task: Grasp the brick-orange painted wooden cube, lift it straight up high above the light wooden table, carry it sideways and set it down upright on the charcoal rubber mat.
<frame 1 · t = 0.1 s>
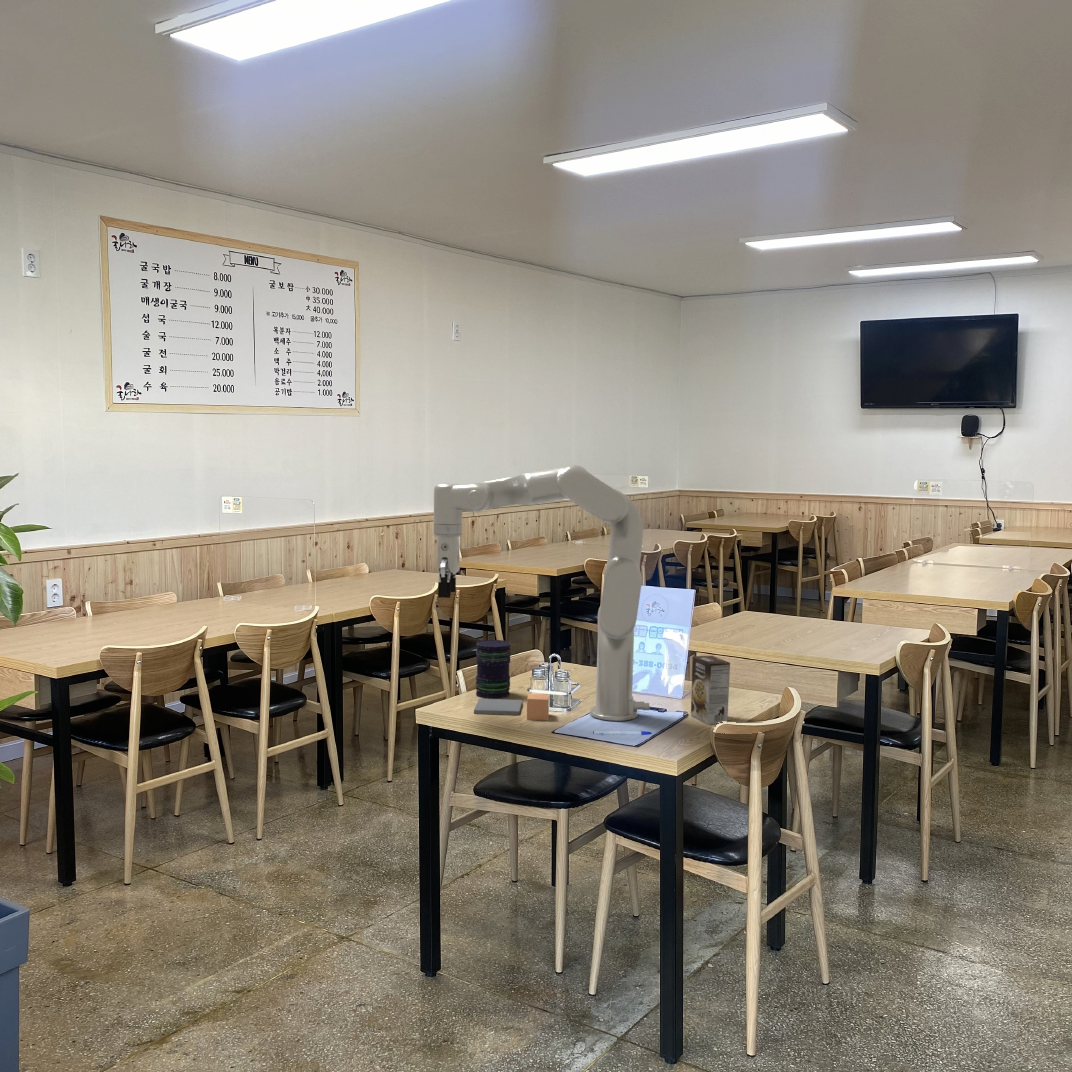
hand: (447, 594, 263), 31 cm above the table, fingers open, 9 cm apart
coaster mat: (498, 708, 268), on the table
storage jar: (492, 695, 283), on the table
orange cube: (537, 717, 261), on the table
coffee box: (708, 719, 262), on the table
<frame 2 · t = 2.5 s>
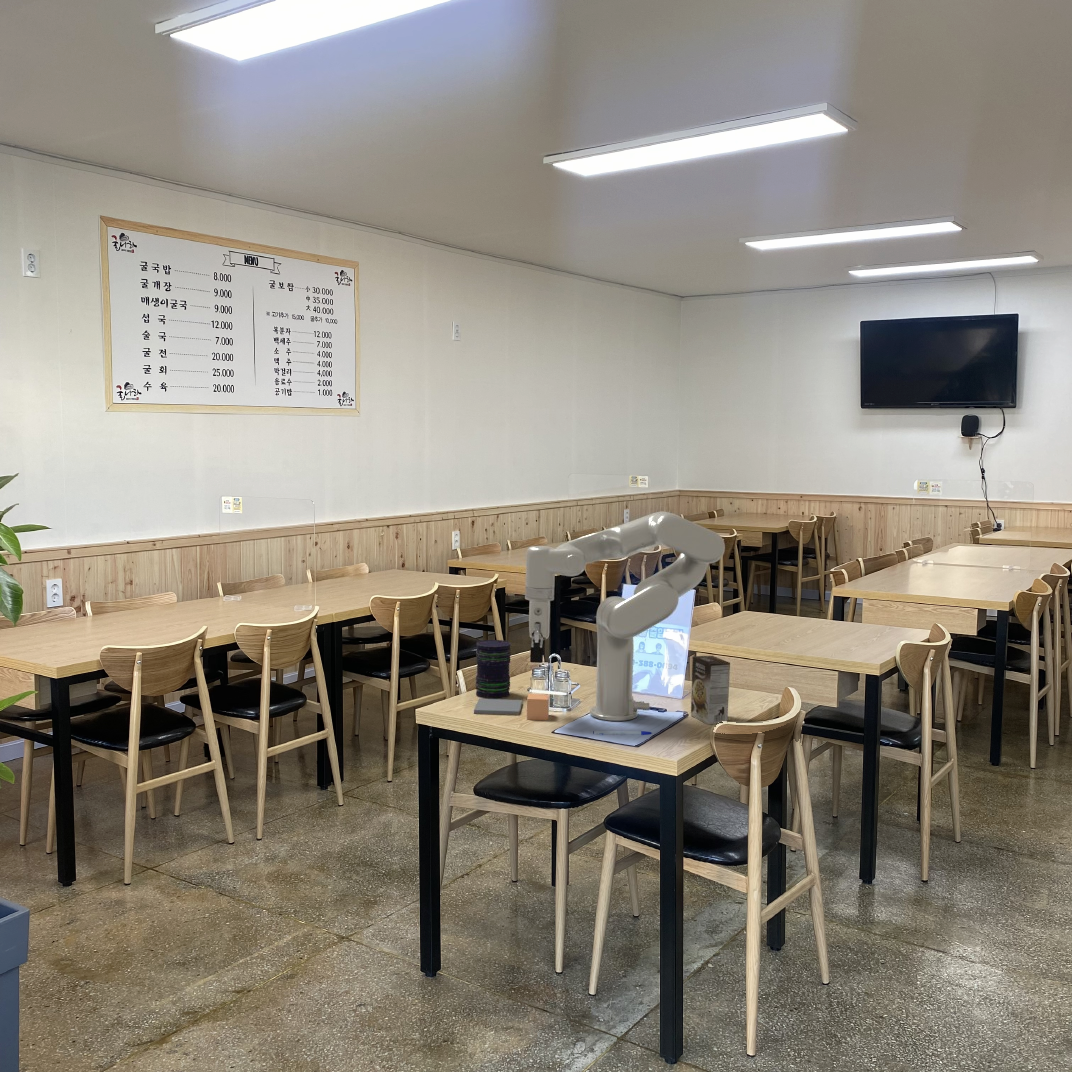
hand: (537, 658, 259), 16 cm above the table, fingers open, 9 cm apart
nothing on the table moved.
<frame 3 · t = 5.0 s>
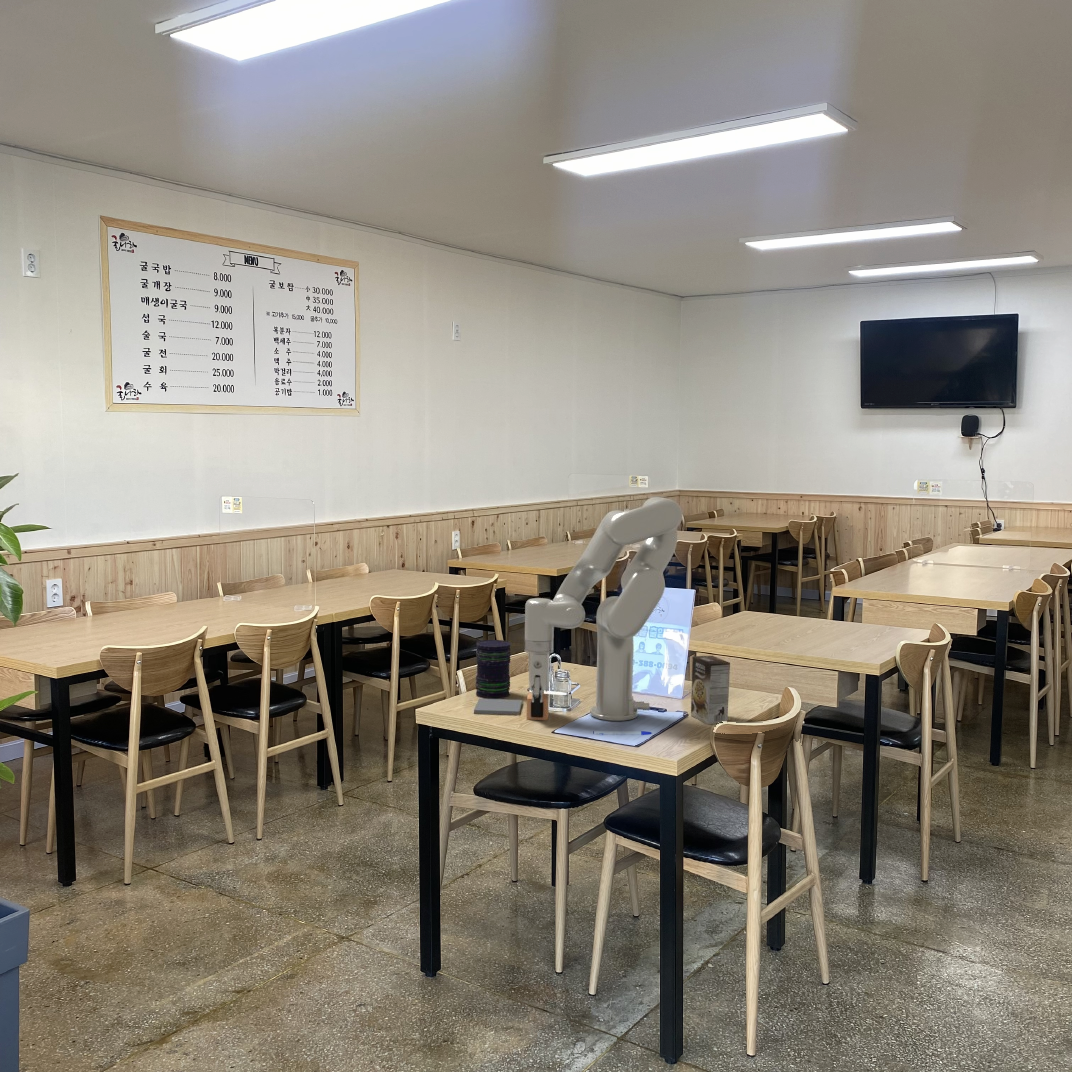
hand: (537, 713, 261), 1 cm above the table, fingers closed on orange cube, 5 cm apart
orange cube: (537, 716, 261), on the table, touching gripper
everything else where it was.
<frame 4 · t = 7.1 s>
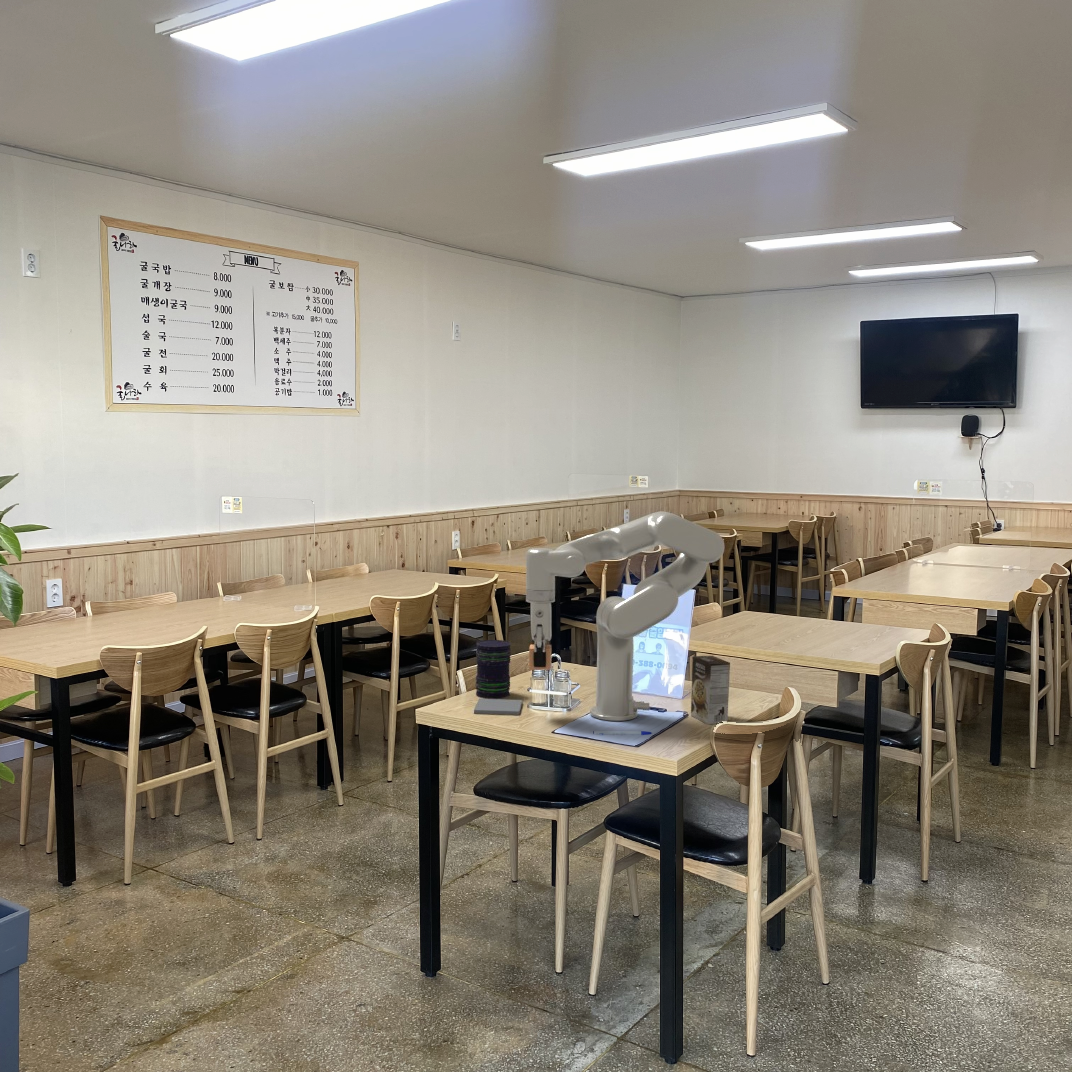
hand: (540, 663, 260), 14 cm above the table, fingers closed on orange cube, 5 cm apart
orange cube: (540, 667, 260), point 13 cm above the table, touching gripper
everything else where it was.
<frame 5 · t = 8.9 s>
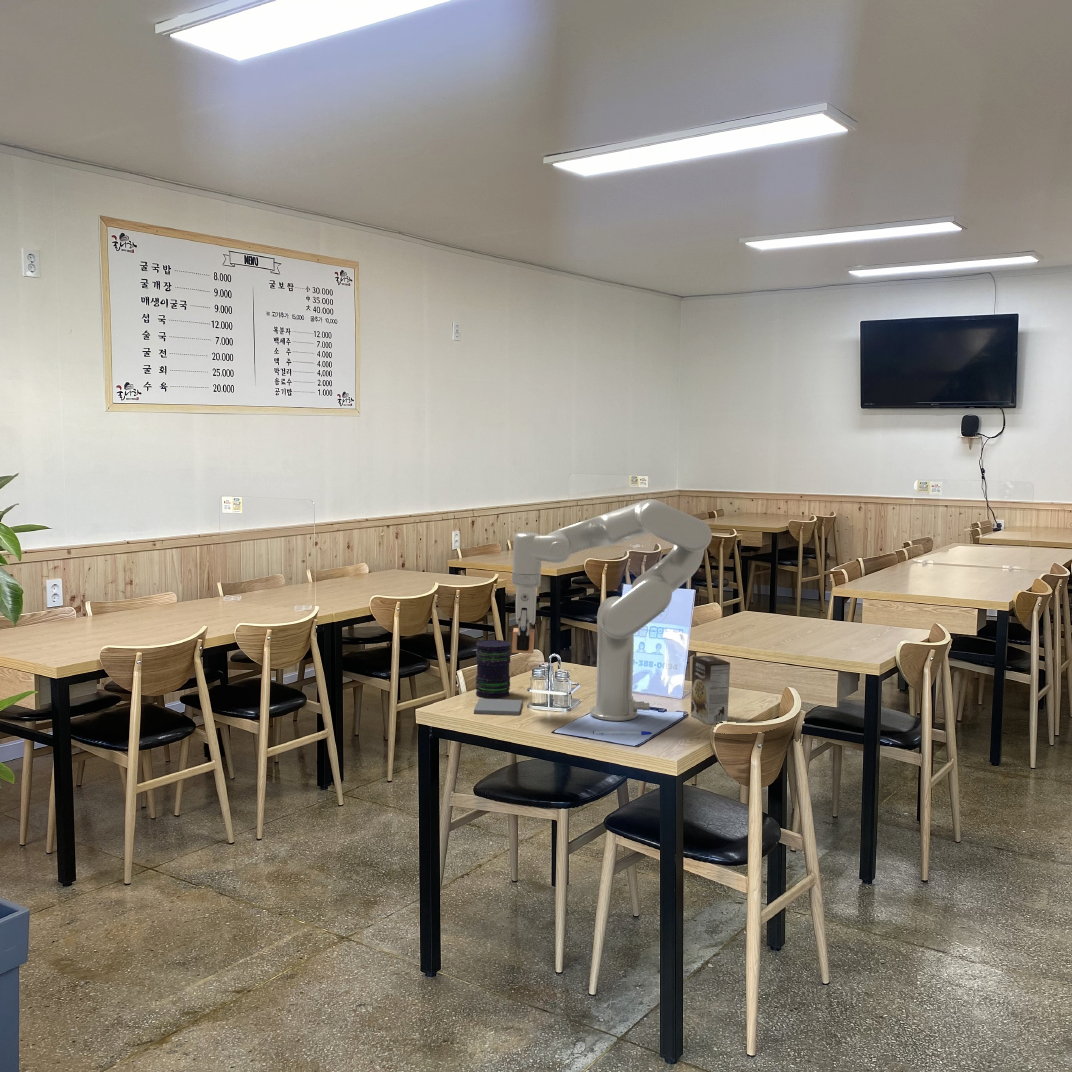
hand: (523, 647, 262), 18 cm above the table, fingers closed on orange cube, 5 cm apart
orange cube: (523, 650, 262), point 17 cm above the table, touching gripper
everything else where it was.
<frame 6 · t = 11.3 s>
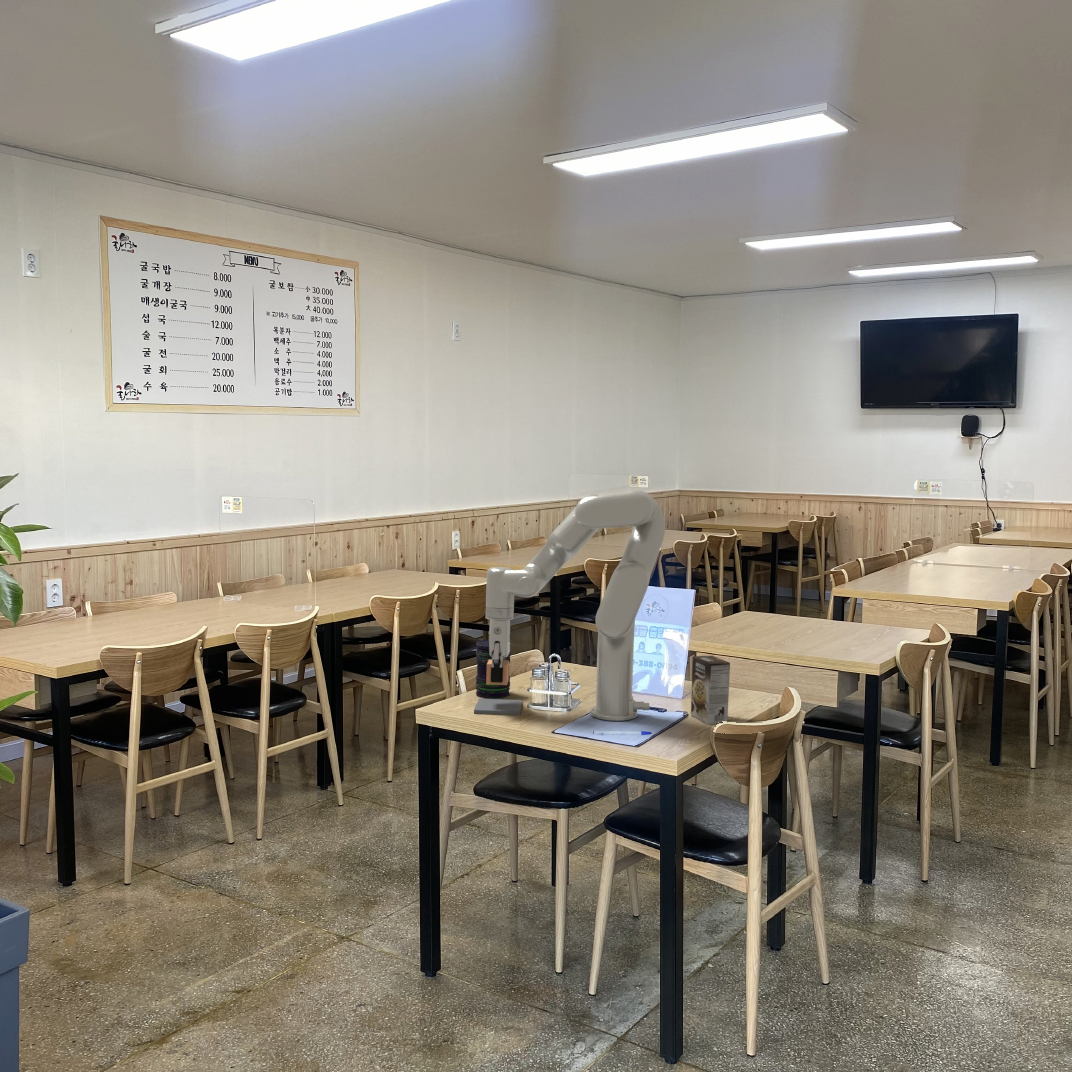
hand: (497, 678, 268), 8 cm above the table, fingers closed on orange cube, 5 cm apart
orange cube: (497, 682, 268), point 7 cm above the table, touching gripper
everything else where it was.
when the fingers open (3 cm above the table, at t = 13.1 s): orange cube drops 1 cm, resting on coaster mat.
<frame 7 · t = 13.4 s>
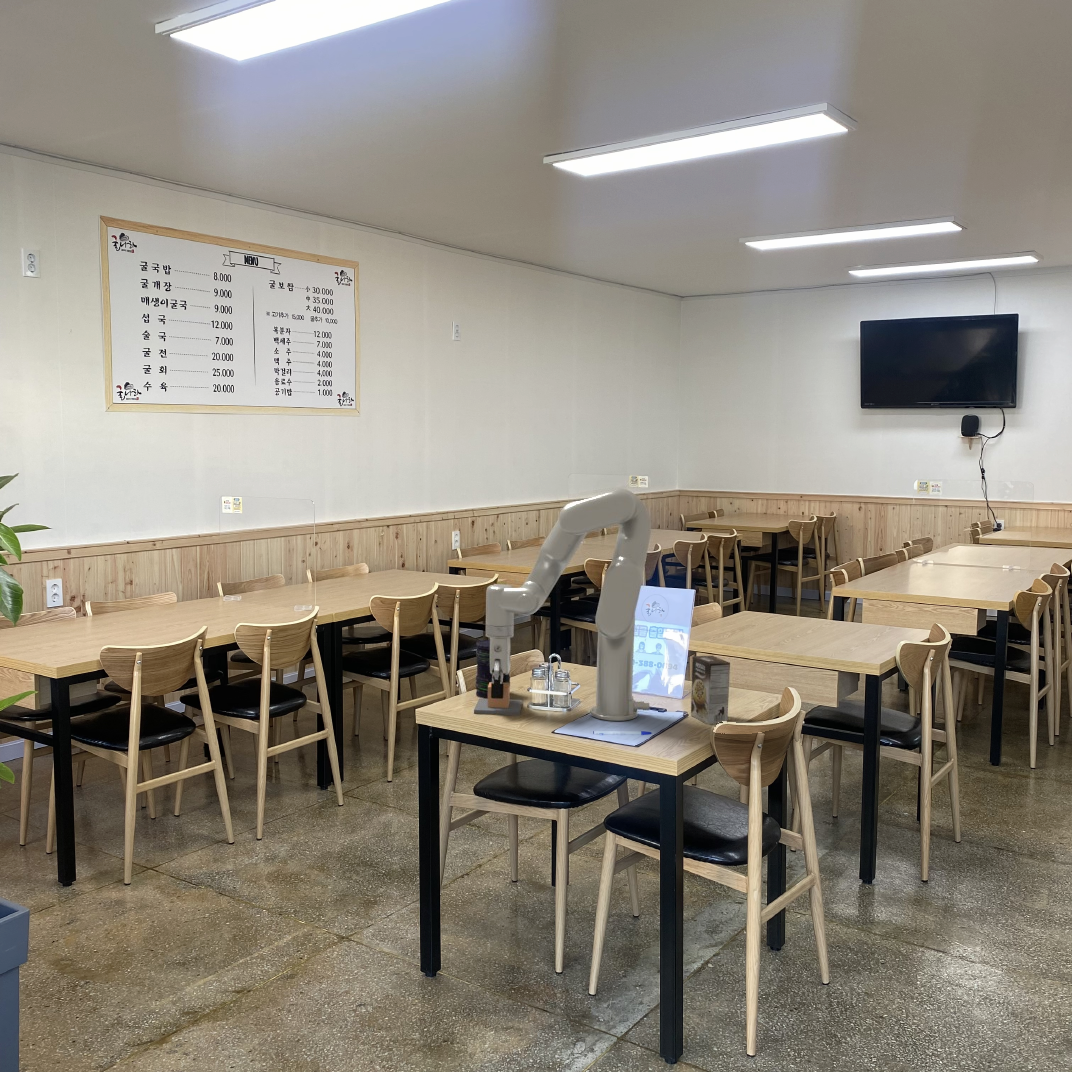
hand: (498, 693, 268), 4 cm above the table, fingers open, 8 cm apart
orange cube: (498, 704, 268), point 1 cm above the table, touching coaster mat
everything else where it was.
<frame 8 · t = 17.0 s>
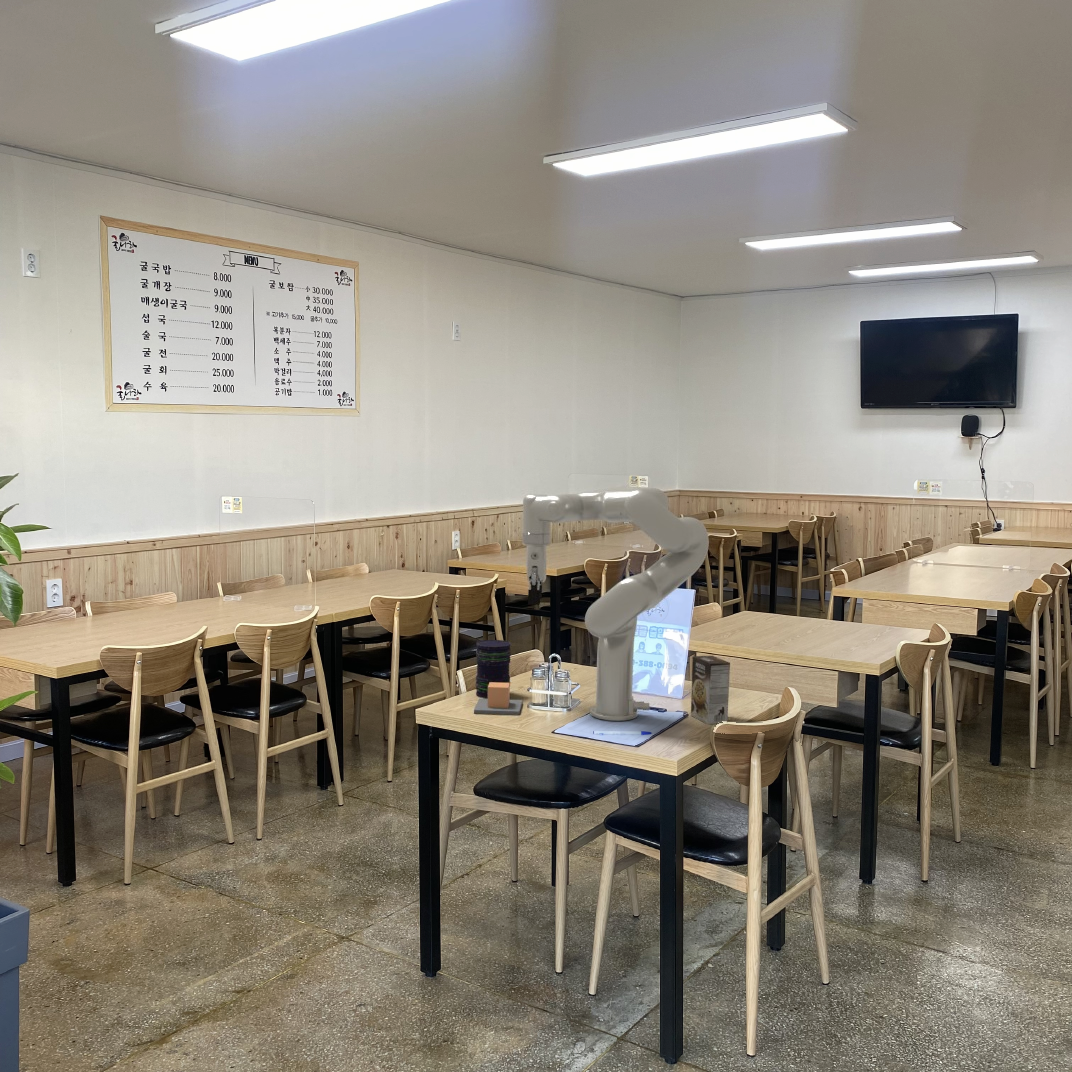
hand: (535, 601, 272), 28 cm above the table, fingers open, 9 cm apart
nothing on the table moved.
at the end: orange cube inside the target area on the coaster mat (0.0 cm from its centre), point 1.0 cm above the coaster mat's base; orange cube tilted 0°; the gripper is holding nothing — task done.
